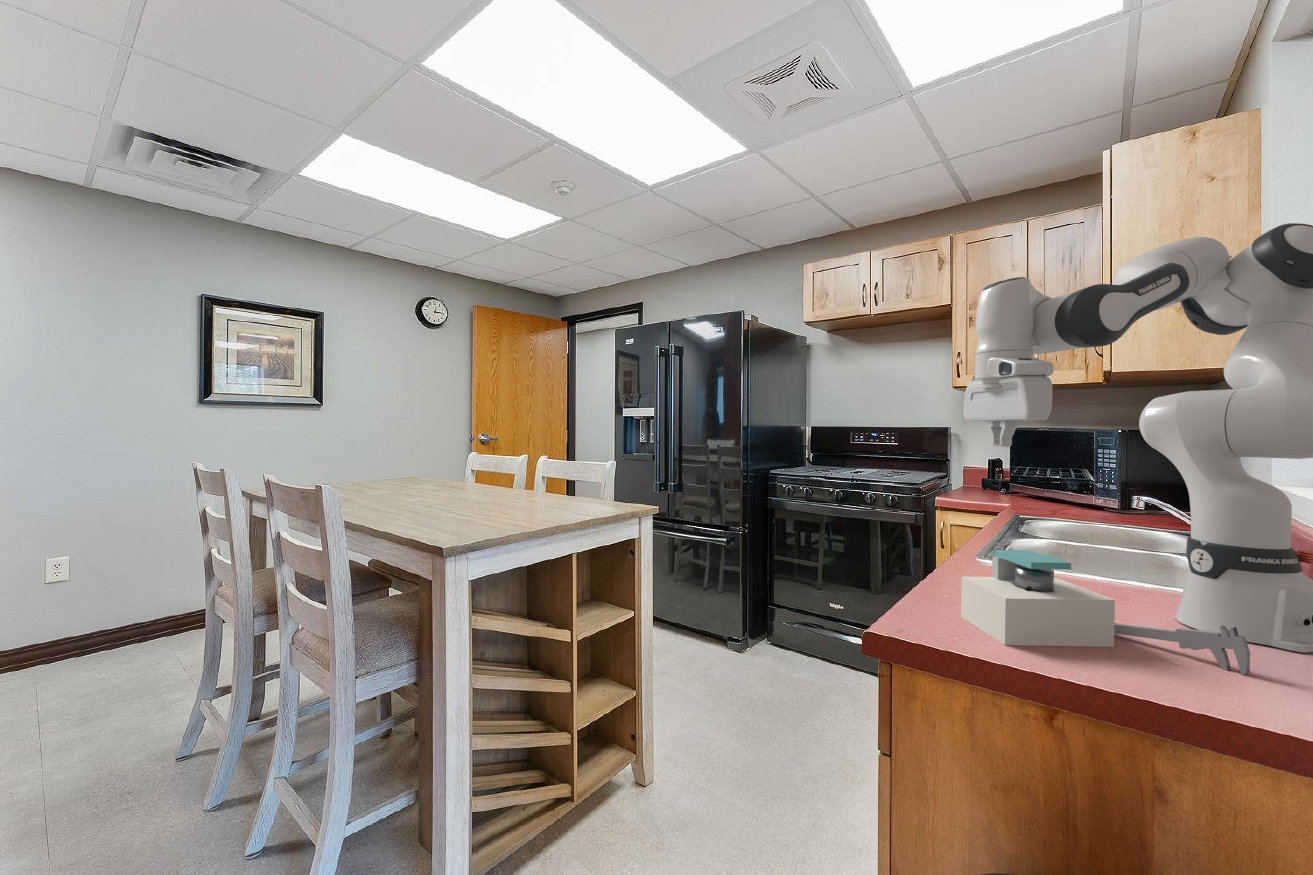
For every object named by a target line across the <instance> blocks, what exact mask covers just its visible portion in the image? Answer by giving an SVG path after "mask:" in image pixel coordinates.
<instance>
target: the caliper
mask: <svg viewBox="0 0 1313 875" xmlns="http://www.w3.org/2000/svg"><path fill="white" fill-rule="evenodd" d="M1220 630H1221V633H1222V636H1221V633H1220V632H1212V631H1203V630H1198V629H1194V628H1192V629H1191V628H1184V627H1183V628H1181V627H1177V628H1175V629H1174V630H1173V629H1165V628H1158V627H1150V626H1149V627H1148V626H1141V625H1133V624H1125V623H1117V622H1114V635H1122V636H1129V637H1137V638H1144V639H1145V638H1146V639H1152V640H1159V641H1166V642H1174V643H1178V646H1179V648H1180V649H1190V650H1193V651H1198V650H1204V649H1207V650H1209V651H1210V652H1211V653H1212V655H1213V657H1214V658H1215V660H1216V661H1217V663H1218V664H1219V666H1220V668H1221V670H1224V671H1231V670H1232V668H1231V662H1230V659H1229V656H1228V653H1227V650H1233V653H1234V656H1235V659H1236V663H1237V666H1238V668H1239V672H1240V675H1241V676H1242V675H1243V676H1244V675H1246V674H1249V673H1250V671H1251V670H1250V669H1251V664H1250V663H1251V651H1250V648H1249V644H1248V642H1247V641H1246V639H1245V636H1241V635H1238V631H1237V628H1236V627H1233V628H1231V629H1230V631H1229V630H1228V629H1227V628H1226V627H1225V626H1224V625H1222V626H1220Z"/></svg>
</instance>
